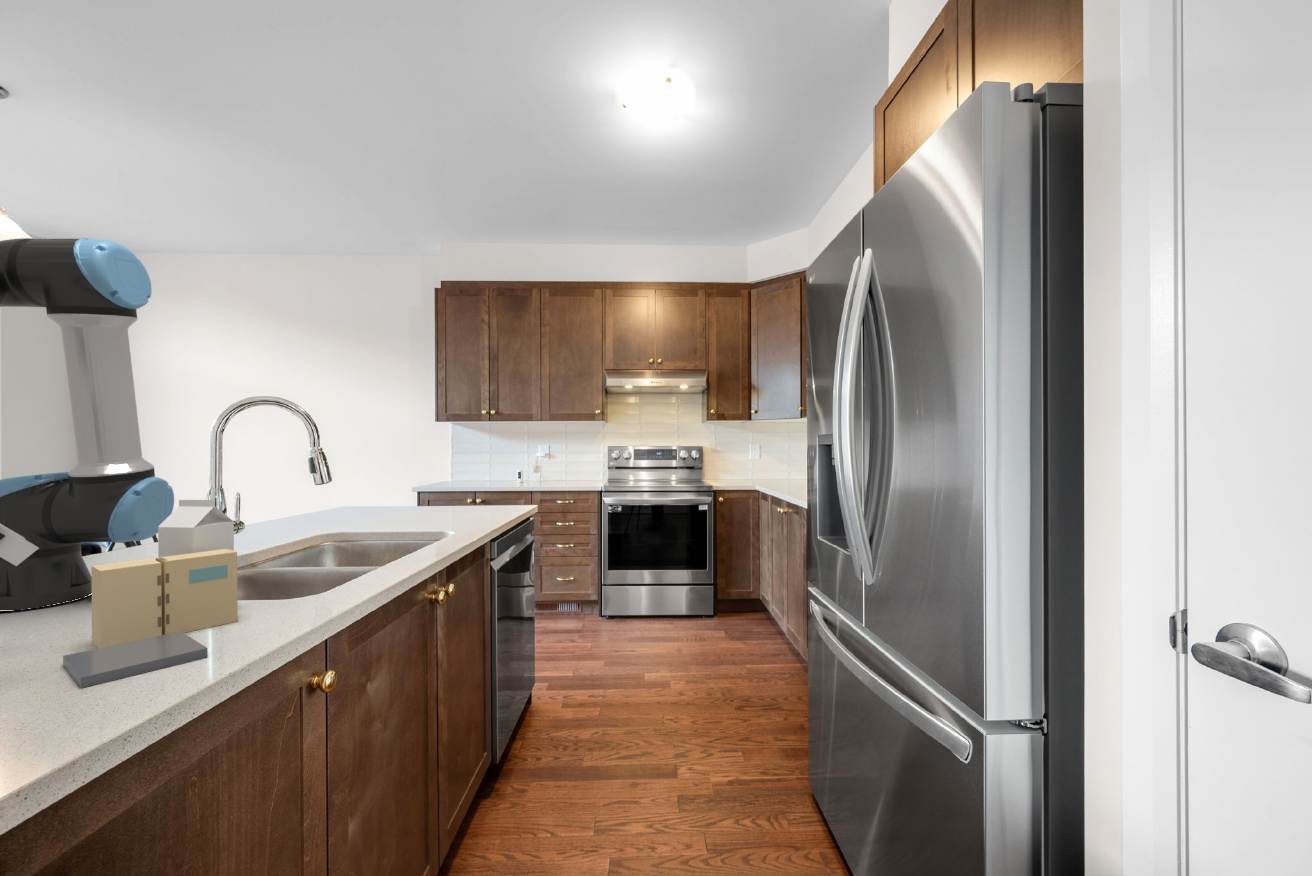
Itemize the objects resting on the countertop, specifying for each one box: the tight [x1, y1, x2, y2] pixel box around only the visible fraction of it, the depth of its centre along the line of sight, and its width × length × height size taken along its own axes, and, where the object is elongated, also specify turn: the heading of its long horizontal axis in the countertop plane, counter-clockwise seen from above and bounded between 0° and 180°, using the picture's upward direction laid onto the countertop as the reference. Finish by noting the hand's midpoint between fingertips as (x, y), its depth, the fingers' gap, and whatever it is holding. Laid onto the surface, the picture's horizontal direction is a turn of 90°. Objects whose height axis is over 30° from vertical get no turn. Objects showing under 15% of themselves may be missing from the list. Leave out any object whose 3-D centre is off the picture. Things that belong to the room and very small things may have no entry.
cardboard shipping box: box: [155, 549, 239, 635], centre depth 91 cm, size 5×9×11 cm, turn 142°
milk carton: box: [157, 499, 235, 558], centre depth 97 cm, size 7×7×19 cm
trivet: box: [62, 631, 208, 689], centre depth 76 cm, size 12×12×1 cm
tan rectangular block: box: [91, 558, 162, 649], centre depth 84 cm, size 6×6×11 cm
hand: (21, 551), depth 76 cm, fingers open, 13 cm apart
